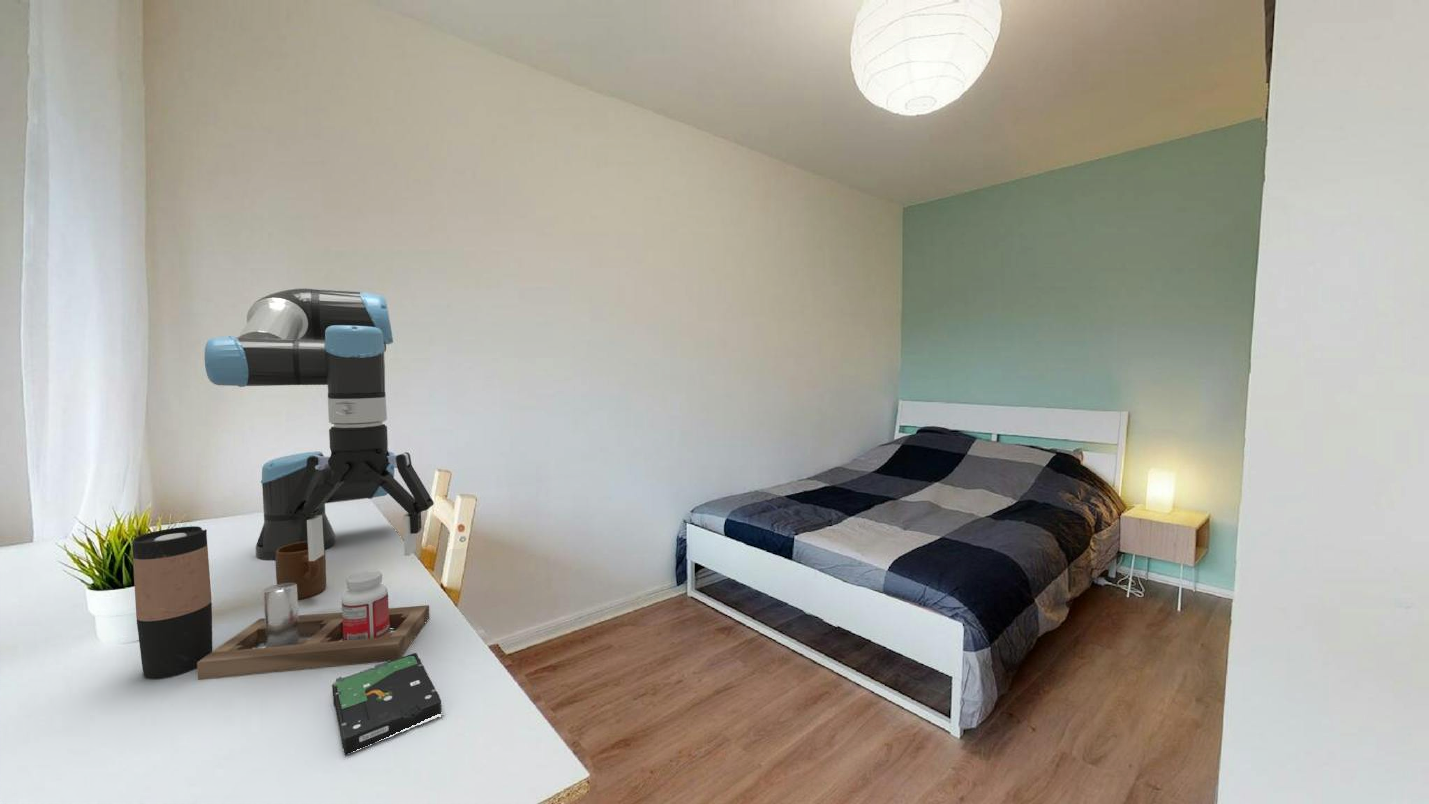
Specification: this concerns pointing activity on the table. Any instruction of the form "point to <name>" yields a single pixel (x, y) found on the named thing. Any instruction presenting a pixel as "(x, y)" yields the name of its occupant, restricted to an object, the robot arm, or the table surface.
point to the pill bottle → (365, 606)
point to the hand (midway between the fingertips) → (364, 555)
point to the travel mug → (172, 600)
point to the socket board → (312, 645)
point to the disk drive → (383, 701)
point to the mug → (300, 569)
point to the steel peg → (281, 615)
